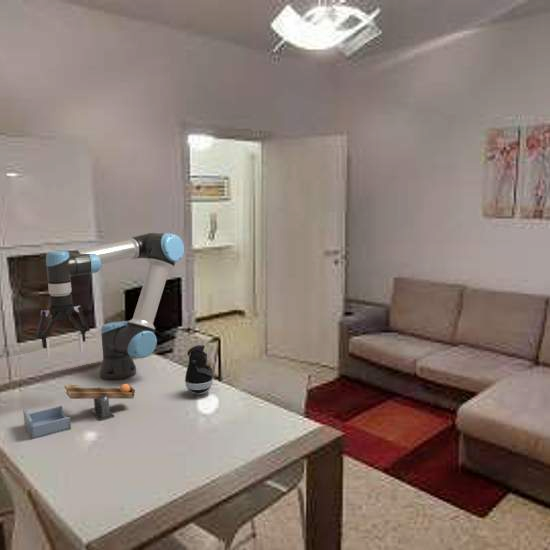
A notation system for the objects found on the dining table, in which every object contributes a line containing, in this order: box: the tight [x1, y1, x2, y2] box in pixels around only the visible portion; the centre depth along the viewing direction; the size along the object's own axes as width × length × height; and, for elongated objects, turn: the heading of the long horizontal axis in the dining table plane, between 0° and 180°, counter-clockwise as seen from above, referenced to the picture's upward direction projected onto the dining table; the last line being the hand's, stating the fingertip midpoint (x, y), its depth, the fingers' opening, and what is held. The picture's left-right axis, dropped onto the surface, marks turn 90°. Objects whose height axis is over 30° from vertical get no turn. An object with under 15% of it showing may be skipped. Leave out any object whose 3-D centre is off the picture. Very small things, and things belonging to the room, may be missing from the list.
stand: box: [89, 386, 115, 422], centre depth 175 cm, size 5×11×8 cm, turn 36°
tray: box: [22, 405, 72, 440], centre depth 165 cm, size 12×12×6 cm
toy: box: [184, 344, 214, 395], centre depth 191 cm, size 11×11×20 cm
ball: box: [119, 383, 131, 393], centre depth 180 cm, size 4×4×4 cm
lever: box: [64, 384, 136, 400], centre depth 178 cm, size 22×13×3 cm, turn 126°
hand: (65, 353), depth 181 cm, fingers open, 11 cm apart
